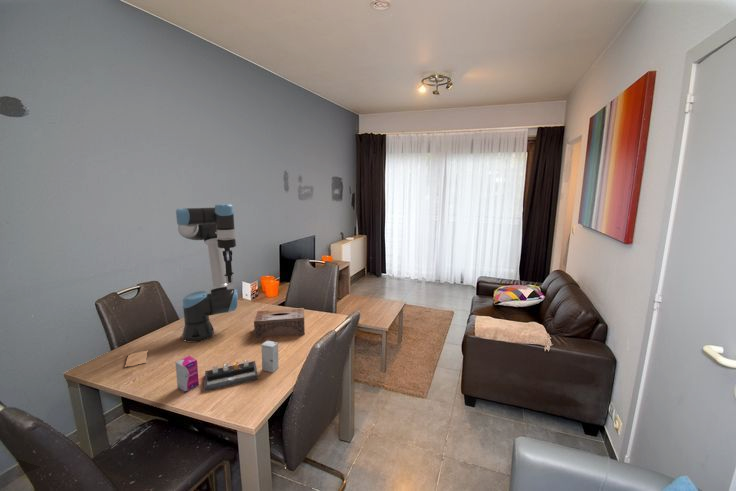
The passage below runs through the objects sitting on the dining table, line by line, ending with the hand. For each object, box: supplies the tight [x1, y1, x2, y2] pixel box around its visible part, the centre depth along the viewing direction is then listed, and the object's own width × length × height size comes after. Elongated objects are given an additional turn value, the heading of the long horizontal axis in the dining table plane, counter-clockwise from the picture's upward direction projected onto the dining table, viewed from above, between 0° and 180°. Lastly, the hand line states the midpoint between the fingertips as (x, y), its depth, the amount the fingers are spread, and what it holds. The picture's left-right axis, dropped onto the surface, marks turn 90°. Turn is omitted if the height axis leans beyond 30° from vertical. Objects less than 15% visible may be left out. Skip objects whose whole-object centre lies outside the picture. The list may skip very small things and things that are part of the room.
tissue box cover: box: [253, 307, 306, 339], centre depth 180 cm, size 26×14×10 cm, turn 101°
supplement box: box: [175, 355, 200, 393], centre depth 129 cm, size 6×6×12 cm
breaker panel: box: [203, 359, 259, 392], centre depth 136 cm, size 20×12×6 cm, turn 114°
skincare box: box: [261, 340, 280, 373], centre depth 142 cm, size 6×4×12 cm
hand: (230, 288), depth 151 cm, fingers closed
